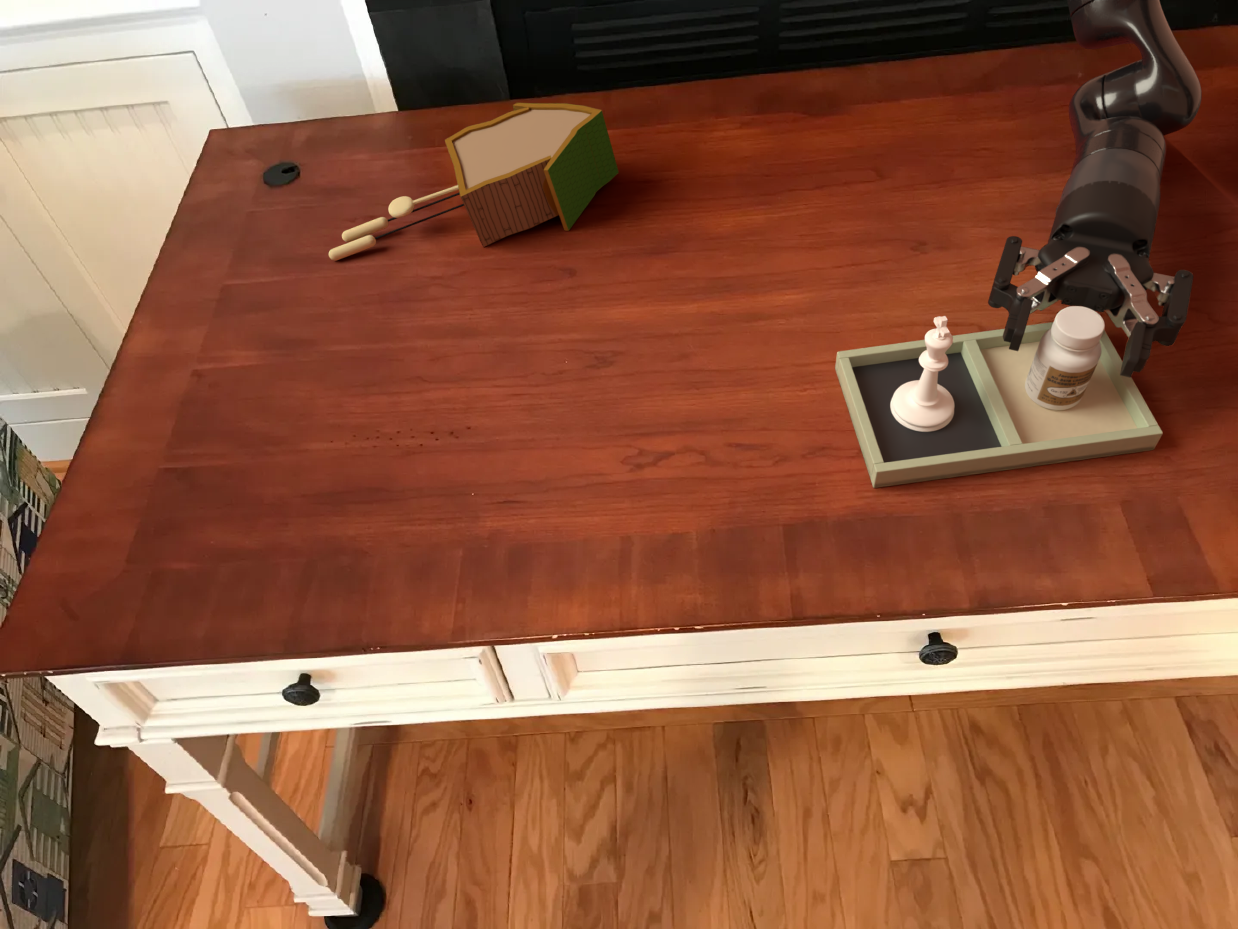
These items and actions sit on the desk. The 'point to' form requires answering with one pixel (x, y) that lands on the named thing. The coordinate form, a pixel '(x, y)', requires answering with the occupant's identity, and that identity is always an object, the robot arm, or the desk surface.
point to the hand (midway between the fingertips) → (1071, 355)
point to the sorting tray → (988, 410)
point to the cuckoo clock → (515, 173)
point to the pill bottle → (1066, 359)
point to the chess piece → (927, 386)
